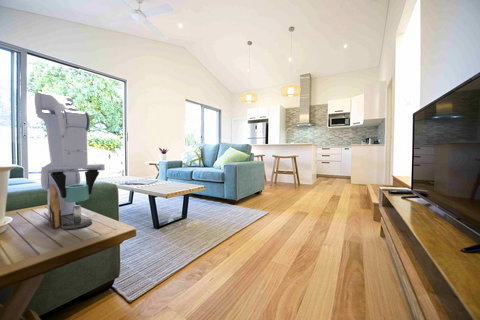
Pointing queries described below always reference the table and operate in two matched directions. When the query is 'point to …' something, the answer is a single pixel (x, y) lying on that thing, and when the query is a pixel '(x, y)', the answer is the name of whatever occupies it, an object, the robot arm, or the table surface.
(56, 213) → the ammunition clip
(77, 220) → the dark round peg base
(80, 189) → the collar
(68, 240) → the table surface
